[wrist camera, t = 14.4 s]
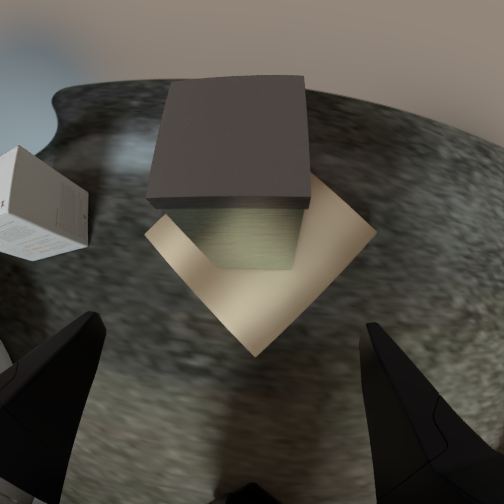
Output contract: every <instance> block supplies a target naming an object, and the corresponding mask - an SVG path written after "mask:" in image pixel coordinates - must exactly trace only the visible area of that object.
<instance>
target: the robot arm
mask: <svg viewBox="0 0 504 504" xmlns="http://www.w3.org/2000/svg"><path fill="white" fill-rule="evenodd" d="M105 336H106V328H105V325H104V323H103V321H102V319H101V317H100V315H99V313H97V312H92V311H88V312H86V313H84V314H83V315H81V316H80V317H79V318H77V319H76V320H74V321H73V322H71V323H70V324H69V325H67V326H66V327H64V328H63V329H61V330H60V331H59V332H57V333H56V334H54V335H53V336H52V337H50V338H49V339H47V340H46V341H45V342H43V343H42V344H40V345H39V346H38V347H36V348H35V349H34V350H32V351H31V352H29V353H28V354H27V355H25V356H24V357H23V358H21V359H20V360H19V361H17V362H16V363H14V364H13V365H12V366H10V367H9V368H8V369H6V370H5V371H4V372H2V373H1V374H0V504H32V503H33V500H34V497H35V498H37V499H39V500H41V501H43V502H45V503H47V504H59V503H60V498H61V493H62V489H63V484H64V480H65V476H66V471H67V467H68V462H69V459H70V455H71V451H72V448H73V444H74V440H75V437H76V433H77V430H78V427H79V423H80V420H81V417H82V413H83V410H84V407H85V404H86V401H87V398H88V395H89V392H90V389H91V386H92V383H93V380H94V377H95V374H96V371H97V367H98V364H99V360H100V356H101V352H102V348H103V344H104V340H105ZM359 350H360V365H361V382H362V392H363V399H364V405H365V411H366V417H367V424H368V431H369V438H370V445H371V453H372V461H373V469H374V479H375V488H376V499H377V504H504V455H503V454H501V453H499V452H497V451H495V450H494V449H492V448H491V447H490V446H489V445H488V444H487V443H486V442H485V441H484V440H483V439H482V438H481V437H480V436H479V435H477V434H476V433H475V432H474V431H473V430H472V429H471V428H470V427H469V426H468V425H467V424H466V423H465V422H464V421H463V420H462V419H461V418H460V417H459V416H458V415H457V413H456V412H455V411H454V410H453V409H452V408H451V407H450V406H449V404H448V403H447V402H446V401H445V400H444V398H443V397H442V396H441V395H439V393H438V391H437V390H436V389H435V388H434V387H433V385H432V384H431V383H430V382H429V381H428V380H427V378H426V377H425V376H424V375H423V374H422V373H421V371H420V370H419V369H418V368H417V367H416V366H415V364H414V363H413V362H412V361H411V360H410V359H409V358H408V356H407V355H406V354H405V353H404V352H403V351H402V350H401V348H400V347H399V346H398V345H397V344H396V343H395V342H394V341H393V339H392V338H391V337H390V336H389V335H388V334H387V333H386V332H385V330H384V329H383V328H382V327H381V326H380V325H379V324H378V323H376V322H371V323H365V324H364V326H363V330H362V333H361V337H360V342H359ZM251 487H253V488H255V489H254V490H251V489H250V488H251ZM211 504H281V503H280V502H278V501H277V500H276V499H274V498H273V497H272V496H271V495H269V494H268V493H267V492H266V491H264V490H263V489H262V488H261V487H259V486H258V485H257V484H255V483H249V484H247V485H246V486H244V487H243V488H241V489H239V490H238V491H236V492H235V493H228V494H226V495H225V496H223V497H221V498H220V499H218V500H216V501H215V502H213V503H211Z"/></svg>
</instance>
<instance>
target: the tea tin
mask: <svg viewBox="0 0 504 504" xmlns="http://www.w3.org/2000/svg"><path fill="white" fill-rule="evenodd" d="M146 199H147V200H148V201H149V202H150V203H151V204H152V205H153V206H154V207H155V208H156V209H162V210H163V211H164V212H165V213H166V214H167V215H168V217H169V218H170V219H171V220H172V221H173V222H174V223H175V224H176V225H177V226H178V227H179V228H180V230H181V231H182V232H183V233H184V234H185V235H186V236H187V237H188V238H189V239H190V240H191V241H192V242H193V243H194V244H195V245H196V247H197V248H198V249H199V250H200V251H201V252H202V253H203V254H204V255H205V256H206V257H207V258H208V259H209V260H210V261H211V262H212V263H213V264H214V265H215V267H216V268H236V269H281V270H291V269H292V265H293V260H294V256H295V252H296V247H297V243H298V238H299V233H300V229H301V224H302V220H303V215H304V210H305V209H309V205H310V200H311V176H310V155H309V137H308V122H307V108H306V96H305V84H304V76H292V75H256V76H231V77H216V78H203V79H193V80H183V81H175V82H171V85H170V89H169V92H168V96H167V100H166V104H165V108H164V112H163V116H162V120H161V124H160V128H159V133H158V137H157V142H156V146H155V151H154V156H153V161H152V166H151V171H150V176H149V182H148V187H147V193H146Z"/></svg>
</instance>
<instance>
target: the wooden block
mask: <svg viewBox="0 0 504 504" xmlns="http://www.w3.org/2000/svg"><path fill="white" fill-rule="evenodd" d="M310 176H311V200H310V205H309V209H305V210H304V215H303V220H302V224H301V229H300V233H299V238H298V243H297V247H296V252H295V256H294V260H293V265H292V269H291V270H281V269H236V268H216V267H215V265H214V264H213V263H212V262H211V261H210V260H209V259H208V258H207V257H206V256H205V255H204V254H203V253H202V252H201V251H200V250H199V249H198V248H197V247H196V245H195V244H194V243H193V242H192V241H191V240H190V239H189V238H188V237H187V236H186V235H185V234H184V233H183V232H182V231H181V230H180V228H179V227H178V226H177V225H176V224H175V223H174V222H173V221H172V220H171V219H170V218H169V217H168V215H167V214H165V215H164V216H163V217H162V218H161V219H160V220H159V221H158V222H157V223H156V224H155V225H154V226H153V227H152V228H151V229H150V230H149V231H148V232H147V233H146V234H145V236H146V237H147V238H148V240H149V241H150V242H151V243H152V244H153V246H154V247H155V248H156V249H157V250H158V251H159V253H160V254H161V255H162V256H163V257H164V259H165V260H166V261H167V262H168V263H169V264H170V265H171V267H172V268H173V269H174V270H175V271H176V272H177V274H178V275H179V276H180V277H181V278H182V279H183V280H184V282H185V283H186V284H187V285H188V286H189V287H190V288H191V289H192V291H193V292H194V293H195V294H196V295H197V296H198V297H199V298H200V299H201V301H202V302H203V303H204V304H205V305H206V306H207V307H208V308H209V309H210V310H211V312H212V313H213V314H214V315H215V316H216V317H217V318H218V319H219V320H220V321H221V322H222V323H223V324H224V326H225V327H226V328H227V329H228V330H229V331H230V332H231V333H232V334H233V335H234V336H235V337H236V338H237V339H238V340H239V341H240V342H241V343H242V344H243V345H244V346H245V348H246V349H247V350H248V351H249V352H250V353H251V354H252V355H253V356H254V357H256V356H258V355H259V354H260V353H261V352H262V351H263V350H264V349H265V348H266V347H267V346H268V345H269V344H270V343H271V342H272V341H273V340H275V339H276V338H277V337H278V336H279V335H280V334H281V333H282V332H283V331H284V330H285V329H286V328H287V327H288V326H289V325H290V324H291V323H292V322H293V321H294V320H295V319H296V318H297V317H298V316H299V315H300V314H301V313H302V312H303V311H304V310H305V309H306V308H307V307H308V306H309V305H310V304H311V303H312V302H313V301H314V300H315V299H316V298H317V297H318V296H319V295H320V294H321V293H322V292H323V291H324V290H325V289H326V288H327V287H328V286H329V285H330V284H331V283H332V281H333V280H334V279H335V278H336V277H337V276H338V275H339V274H340V273H341V272H342V271H343V270H344V269H345V268H346V267H347V266H348V264H349V263H350V262H351V261H352V260H353V259H354V258H355V257H356V256H357V255H358V254H359V252H360V251H361V250H362V249H363V248H364V247H365V246H366V245H367V244H368V242H369V241H370V240H371V239H372V238H373V237H374V236H375V235H376V233H377V232H376V231H375V230H374V229H373V228H372V227H371V226H370V225H369V224H368V223H367V222H366V221H365V220H364V219H363V218H362V217H361V216H359V215H358V214H357V213H356V212H355V211H354V210H353V209H352V208H351V207H350V206H349V205H348V204H346V203H345V202H344V201H343V200H342V199H341V198H340V197H339V196H338V195H336V194H335V193H334V192H333V191H332V190H331V189H330V188H329V187H327V186H326V185H325V184H324V183H323V182H322V181H320V180H319V179H318V178H317V177H316V176H315V175H314V174H312V173H311V172H310Z"/></svg>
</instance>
